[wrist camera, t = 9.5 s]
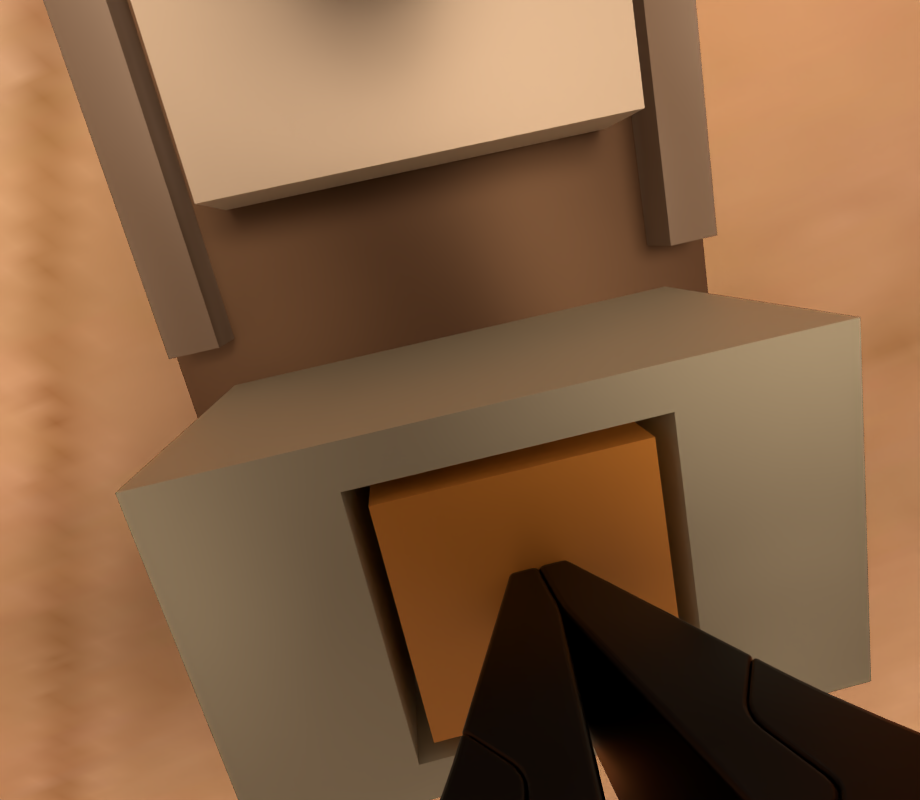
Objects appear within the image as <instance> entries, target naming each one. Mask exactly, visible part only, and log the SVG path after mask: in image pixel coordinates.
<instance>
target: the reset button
mask: <svg viewBox="0 0 920 800" xmlns="http://www.w3.org/2000/svg"><path fill="white" fill-rule="evenodd" d="M368 507H369V510H370V514H371V518H372V521H373V525H374V528H375V532H376V536H377V539H378V543H379V546H380V550H381V554H382V557H383V561H384V564H385V568H386V572H387V575H388V579H389V582H390V586H391V590H392V593H393V597H394V601H395V604H396V608H397V611H398V615H399V619H400V622H401V626H402V629H403V633H404V637H405V640H406V644H407V647H408V651H409V655H410V658H411V662H412V665H413V669H414V673H415V676H416V680H417V683H418V687H419V691H420V694H421V698H422V701H423V705H424V709H425V712H426V716H427V719H428V723H429V727H430V730H431V734H432V737H433V741H434V743H436V742H440V741H443V740H447V739H451V738H455V737H459V736H462V731H463V728H464V725H465V722H466V718H467V715H468V712H469V708H470V705H471V702H472V698H473V695H474V692H475V688H476V685H477V682H478V679H479V675H480V672H481V669H482V665H483V662H484V659H485V655H486V652H487V649H488V645H489V642H490V639H491V636H492V632H493V629H494V626H495V622H496V619H497V616H498V612H499V609H500V606H501V603H502V599H503V596H504V593H505V589H506V586H507V583H508V579H509V577H510V575H511V574H512V573H515V572H519V571H523V570H527V569H531V568H536V569H538V570H540V567H541V566H543V565H547V564H551V563H555V562H559V561H563V560H566V561H569V562H571V563H573V564H575V565H577V566H579V567H580V568H582V569H584V570H586V571H588V572H590V573H592V574H594V575H596V576H598V577H600V578H602V579H604V580H606V581H608V582H610V583H612V584H613V585H615V586H617V587H619V588H621V589H623V590H625V591H627V592H629V593H631V594H633V595H635V596H637V597H639V598H641V599H643V600H645V601H646V602H648V603H650V604H652V605H654V606H656V607H658V608H660V609H662V610H664V611H666V612H668V613H670V614H672V615H674V616H676V617H678V618H679V616H678V609H677V601H676V593H675V586H674V578H673V570H672V563H671V555H670V547H669V539H668V532H667V524H666V516H665V509H664V501H663V493H662V486H661V478H660V470H659V462H658V455H657V447H656V439H655V437H654V436H653V435H652V434H650V433H649V432H648V431H646V430H645V429H644V428H642V427H641V426H639V425H638V424H637V423H635V422H631V423H627V424H622V425H618V426H614V427H610V428H606V429H602V430H598V431H593V432H589V433H585V434H581V435H577V436H573V437H568V438H564V439H560V440H556V441H552V442H548V443H543V444H539V445H535V446H531V447H527V448H523V449H519V450H514V451H510V452H506V453H502V454H498V455H494V456H489V457H485V458H481V459H477V460H473V461H469V462H464V463H460V464H456V465H452V466H448V467H444V468H440V469H435V470H431V471H427V472H423V473H419V474H415V475H410V476H406V477H402V478H398V479H394V480H390V481H385V482H381V483H377V484H373V485H370V495H369V506H368Z"/></svg>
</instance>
